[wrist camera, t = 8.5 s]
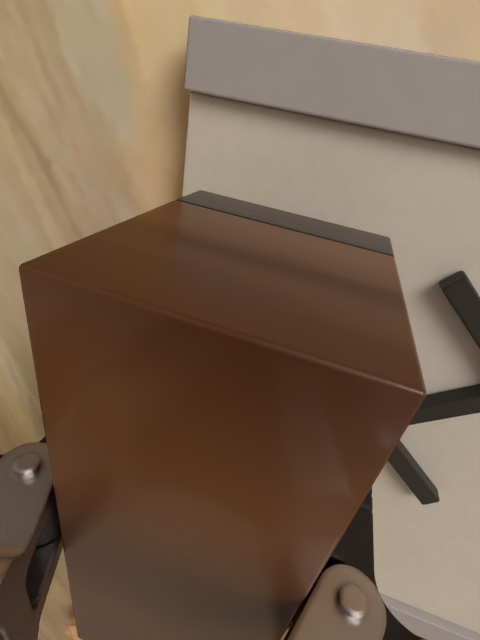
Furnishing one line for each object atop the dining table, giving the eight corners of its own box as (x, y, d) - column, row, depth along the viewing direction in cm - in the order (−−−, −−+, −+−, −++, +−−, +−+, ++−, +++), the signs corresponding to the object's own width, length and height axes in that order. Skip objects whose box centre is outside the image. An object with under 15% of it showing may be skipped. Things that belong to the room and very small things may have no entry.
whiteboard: (208, 27, 10) (188, 14, 9) (1050, 166, 7) (1184, 175, 6) (163, 503, 22) (151, 524, 21) (470, 628, 19) (477, 661, 18)
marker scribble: (446, 266, 10) (450, 273, 10) (579, 299, 10) (590, 309, 9) (345, 465, 15) (345, 477, 14) (431, 496, 14) (434, 509, 14)
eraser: (198, 188, 10) (15, 263, 4) (390, 237, 9) (431, 394, 4) (168, 472, 16) (76, 637, 11) (278, 515, 15) (235, 716, 10)
